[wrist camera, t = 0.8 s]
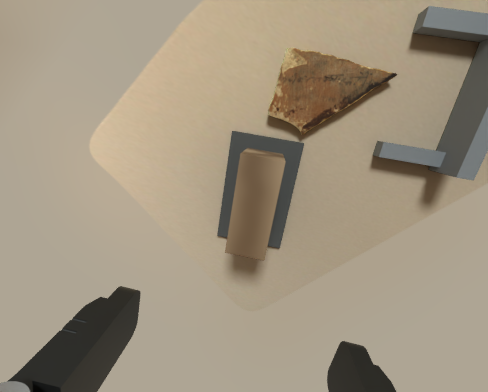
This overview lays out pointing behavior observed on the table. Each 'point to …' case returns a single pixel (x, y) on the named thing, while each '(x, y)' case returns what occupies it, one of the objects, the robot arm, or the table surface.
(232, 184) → the rest mat
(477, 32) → the dock
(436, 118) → the table surface
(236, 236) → the block
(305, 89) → the shard
